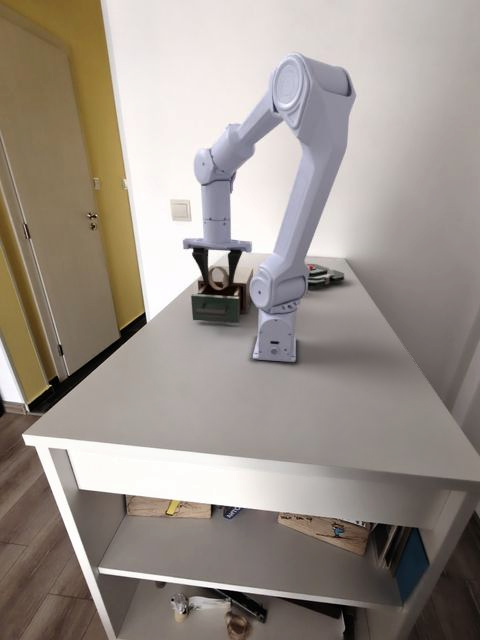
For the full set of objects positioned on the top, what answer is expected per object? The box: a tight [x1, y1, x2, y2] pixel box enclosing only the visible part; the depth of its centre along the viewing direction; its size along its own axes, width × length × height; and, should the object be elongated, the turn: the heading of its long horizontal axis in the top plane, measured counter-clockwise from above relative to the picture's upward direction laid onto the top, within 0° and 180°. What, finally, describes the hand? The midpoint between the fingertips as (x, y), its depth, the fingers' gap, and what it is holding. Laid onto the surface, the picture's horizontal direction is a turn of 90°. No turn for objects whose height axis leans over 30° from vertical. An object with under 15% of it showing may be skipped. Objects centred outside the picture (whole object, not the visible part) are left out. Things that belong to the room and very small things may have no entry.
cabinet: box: [197, 265, 254, 314], centre depth 86 cm, size 14×12×8 cm
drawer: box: [190, 284, 243, 324], centre depth 76 cm, size 17×10×6 cm, turn 175°
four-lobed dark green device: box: [306, 262, 345, 288], centre depth 106 cm, size 18×18×5 cm
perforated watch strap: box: [208, 267, 229, 290], centre depth 74 cm, size 3×5×5 cm, turn 58°
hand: (218, 283), depth 75 cm, fingers closed on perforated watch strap, 5 cm apart
